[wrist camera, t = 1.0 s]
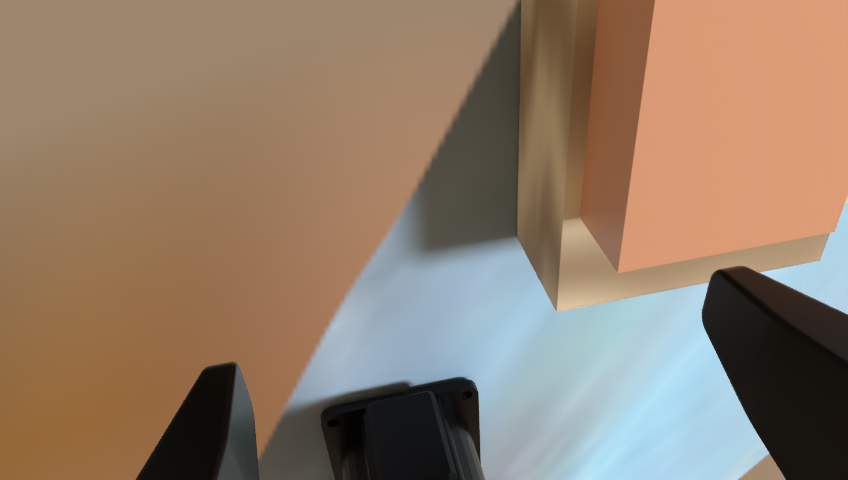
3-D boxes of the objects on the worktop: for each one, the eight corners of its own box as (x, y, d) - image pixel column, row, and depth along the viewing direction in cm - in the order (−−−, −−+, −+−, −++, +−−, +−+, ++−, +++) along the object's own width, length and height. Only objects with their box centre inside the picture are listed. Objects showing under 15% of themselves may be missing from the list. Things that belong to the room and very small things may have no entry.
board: (749, 195, 25) (819, 260, 22) (517, 237, 24) (556, 312, 21) (903, -385, 16) (1069, -417, 12) (528, -358, 14) (603, -384, 11)
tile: (776, 182, 20) (834, 231, 18) (579, 217, 19) (617, 273, 17) (881, -180, 14) (982, -166, 12) (611, -149, 13) (672, -130, 12)
